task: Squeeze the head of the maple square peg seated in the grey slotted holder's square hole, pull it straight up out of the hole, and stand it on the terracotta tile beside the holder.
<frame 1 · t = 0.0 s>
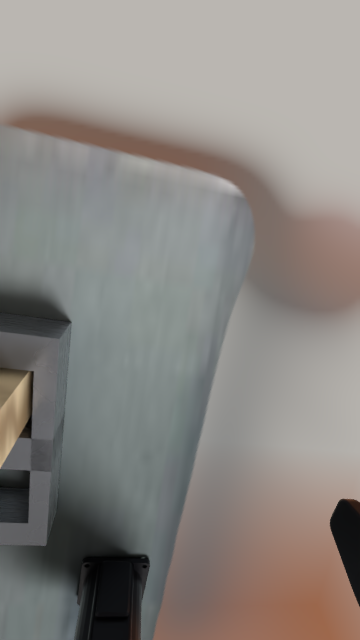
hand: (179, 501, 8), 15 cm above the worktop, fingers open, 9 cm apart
maple peg: (10, 377, 22), resting in grey slotted holder
grey slotted holder: (9, 423, 23), on the worktop
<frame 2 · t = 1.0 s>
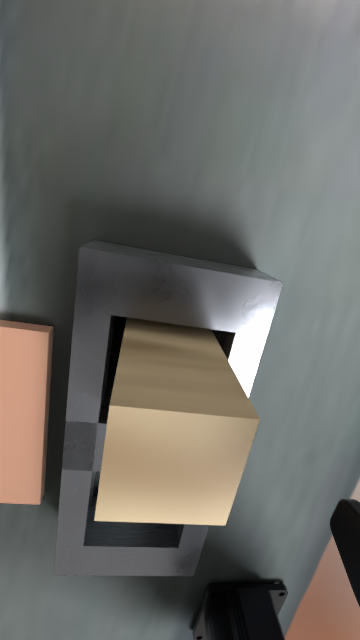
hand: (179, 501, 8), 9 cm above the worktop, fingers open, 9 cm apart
maple peg: (161, 349, 16), resting in grey slotted holder
grey slotted holder: (150, 412, 17), on the worktop
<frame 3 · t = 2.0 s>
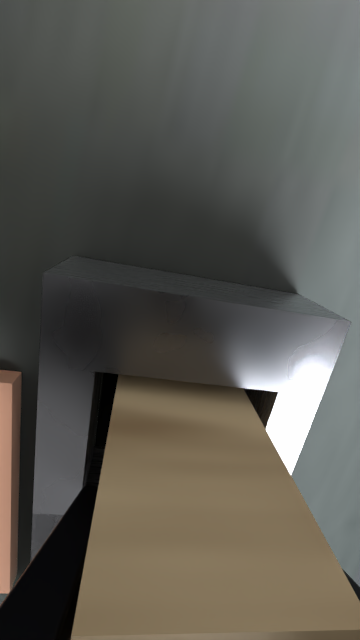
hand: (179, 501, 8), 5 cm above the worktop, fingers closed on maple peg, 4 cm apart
maple peg: (167, 398, 12), resting in grey slotted holder, touching gripper
grey slotted holder: (152, 476, 13), on the worktop
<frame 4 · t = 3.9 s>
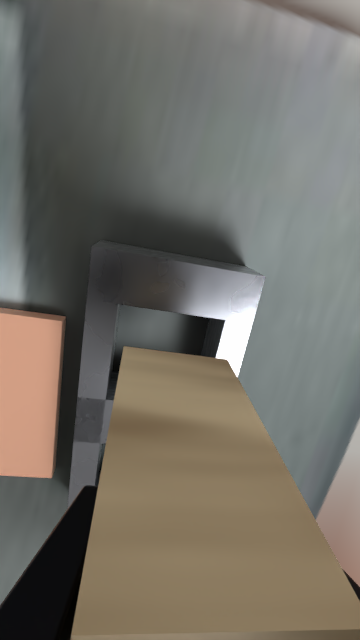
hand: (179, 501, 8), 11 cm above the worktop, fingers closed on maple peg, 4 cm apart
maple peg: (167, 398, 12), point 6 cm above the worktop, touching gripper
grey slotted holder: (150, 394, 19), on the worktop
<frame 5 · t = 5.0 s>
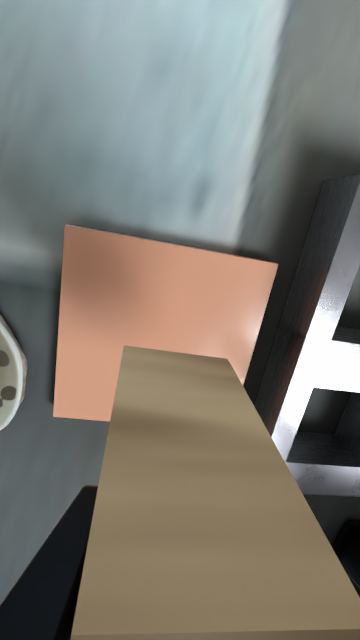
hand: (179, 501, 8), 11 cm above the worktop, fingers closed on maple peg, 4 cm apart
maple peg: (168, 397, 12), point 6 cm above the worktop, touching gripper
terracotta tile: (159, 338, 18), on the worktop
grey slotted holder: (333, 346, 19), on the worktop
when the fingers open (6 cm above the worktop, at t = 5.9 s): maple peg drops 1 cm, resting on terracotta tile.
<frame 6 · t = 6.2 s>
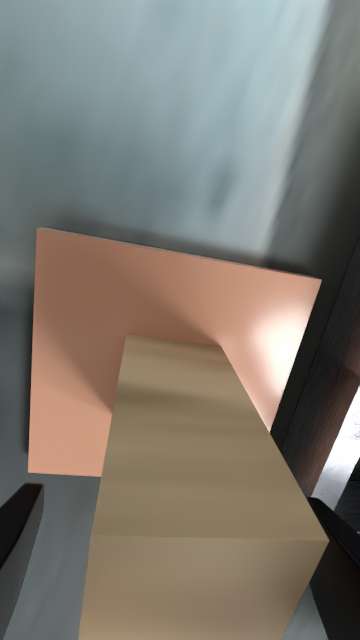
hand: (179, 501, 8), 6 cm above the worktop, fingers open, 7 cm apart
maple peg: (166, 382, 13), point 1 cm above the worktop, touching terracotta tile
terracotta tile: (164, 373, 14), on the worktop
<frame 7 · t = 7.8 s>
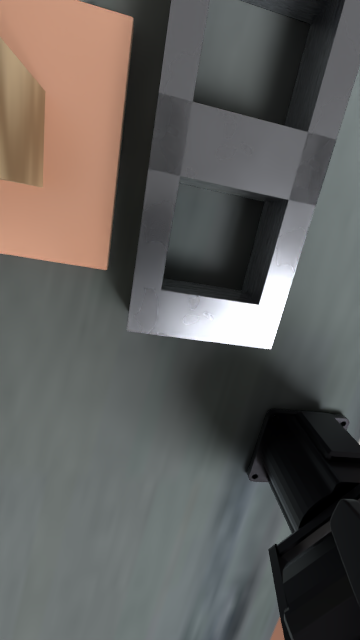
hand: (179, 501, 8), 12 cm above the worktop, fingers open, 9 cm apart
terracotta tile: (4, 136, 14), on the worktop
grey slotted holder: (226, 164, 16), on the worktop
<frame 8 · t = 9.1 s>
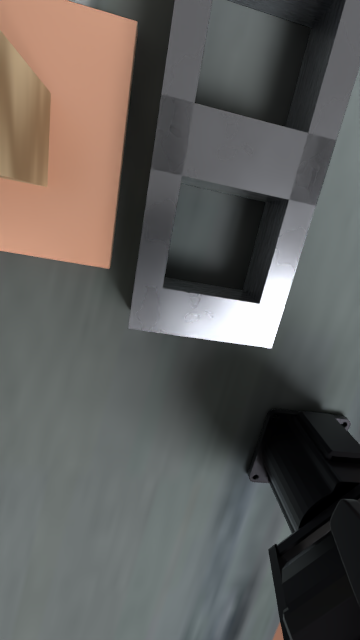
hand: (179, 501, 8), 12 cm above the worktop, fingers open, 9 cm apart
maple peg: (4, 132, 14), point 1 cm above the worktop, touching terracotta tile
terracotta tile: (10, 136, 15), on the worktop
grey slotted holder: (227, 164, 16), on the worktop
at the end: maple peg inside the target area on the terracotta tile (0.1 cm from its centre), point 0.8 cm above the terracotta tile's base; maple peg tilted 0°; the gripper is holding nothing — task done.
